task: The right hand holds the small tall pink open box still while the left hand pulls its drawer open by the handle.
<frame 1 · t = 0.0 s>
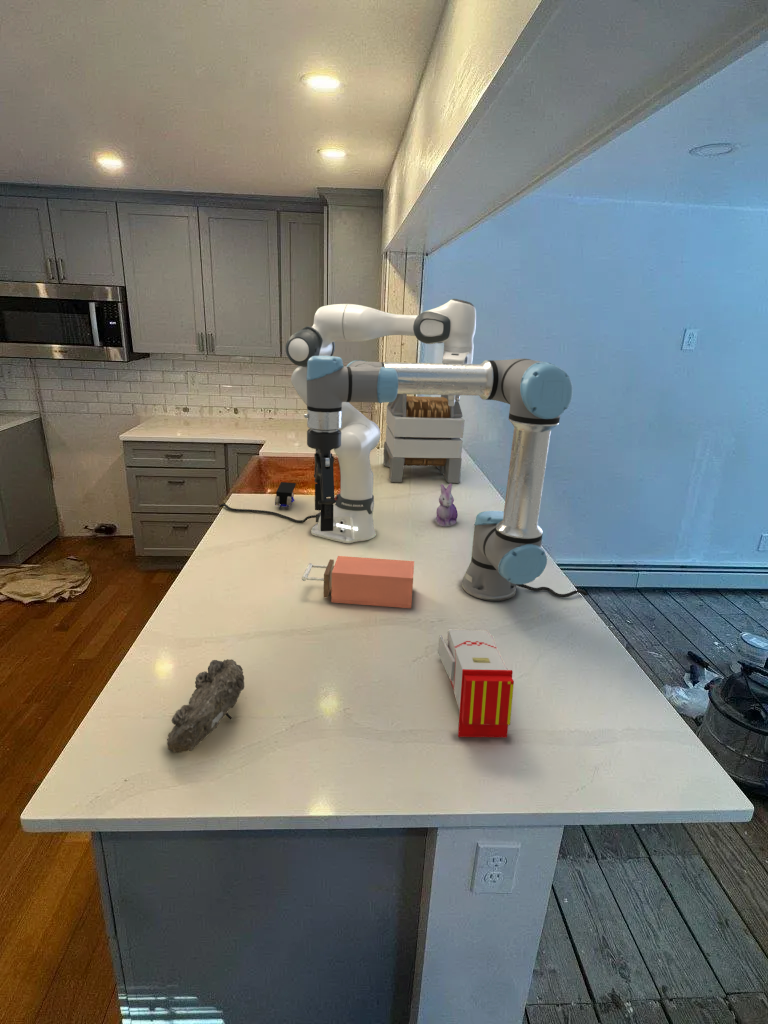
left hand: (454, 403, 174), 48 cm above the counter, tool pointing down, fingers open, 8 cm apart
right hand: (323, 519, 131), 28 cm above the counter, tool pointing down, fingers open, 13 cm apart
drawer: (352, 579, 155), point 4 cm above the counter, slide at 1.0 cm
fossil: (212, 717, 108), on the counter
tall pink open box: (373, 595, 156), on the counter
toy: (469, 691, 119), on the counter
transformer: (419, 473, 275), on the counter
figurine: (446, 523, 212), on the counter
figurine character: (285, 505, 223), on the counter
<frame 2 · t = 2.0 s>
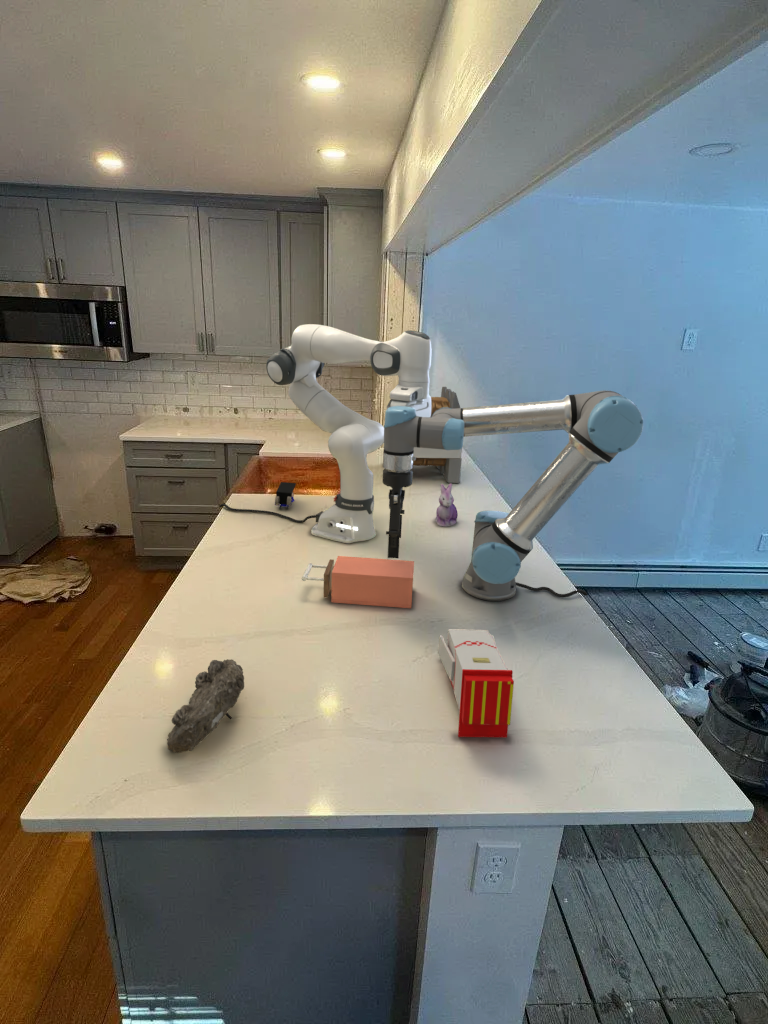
left hand: (410, 438, 166), 39 cm above the counter, tool pointing down, fingers open, 8 cm apart
right hand: (394, 547, 149), 16 cm above the counter, tool pointing down, fingers open, 13 cm apart
nothing on the counter moved.
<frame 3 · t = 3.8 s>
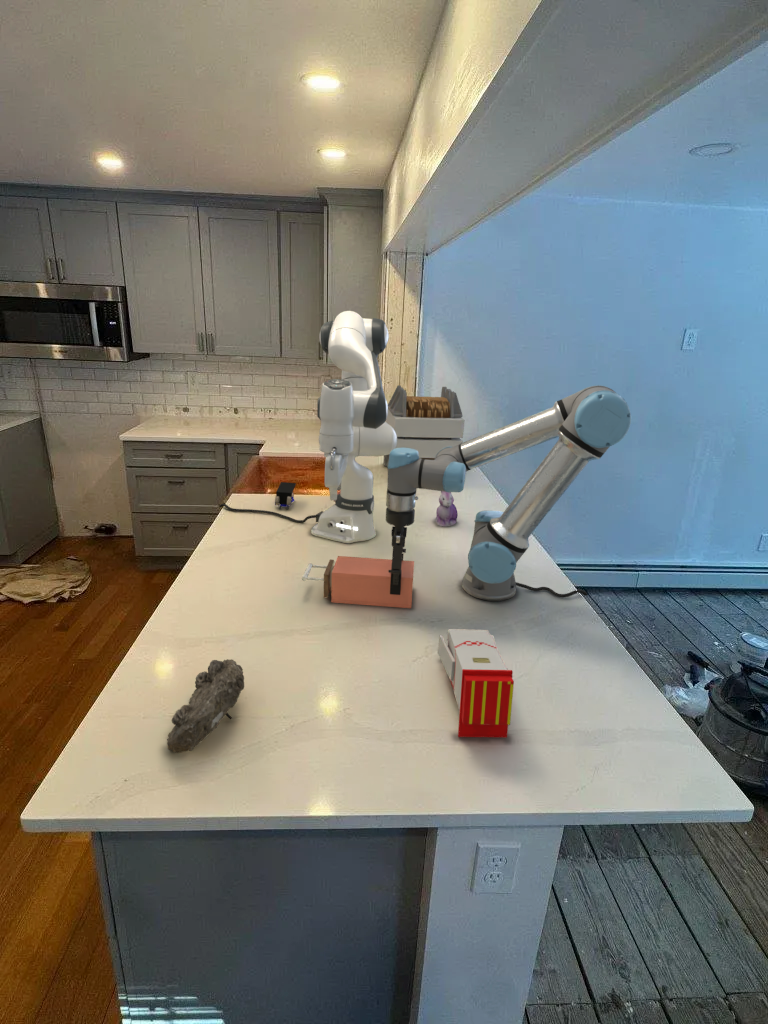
left hand: (335, 494, 152), 27 cm above the counter, tool pointing down, fingers open, 8 cm apart
right hand: (396, 584, 154), 4 cm above the counter, tool pointing down, fingers closed on tall pink open box, 11 cm apart
tall pink open box: (373, 595, 156), on the counter, touching right hand
everything else where it was.
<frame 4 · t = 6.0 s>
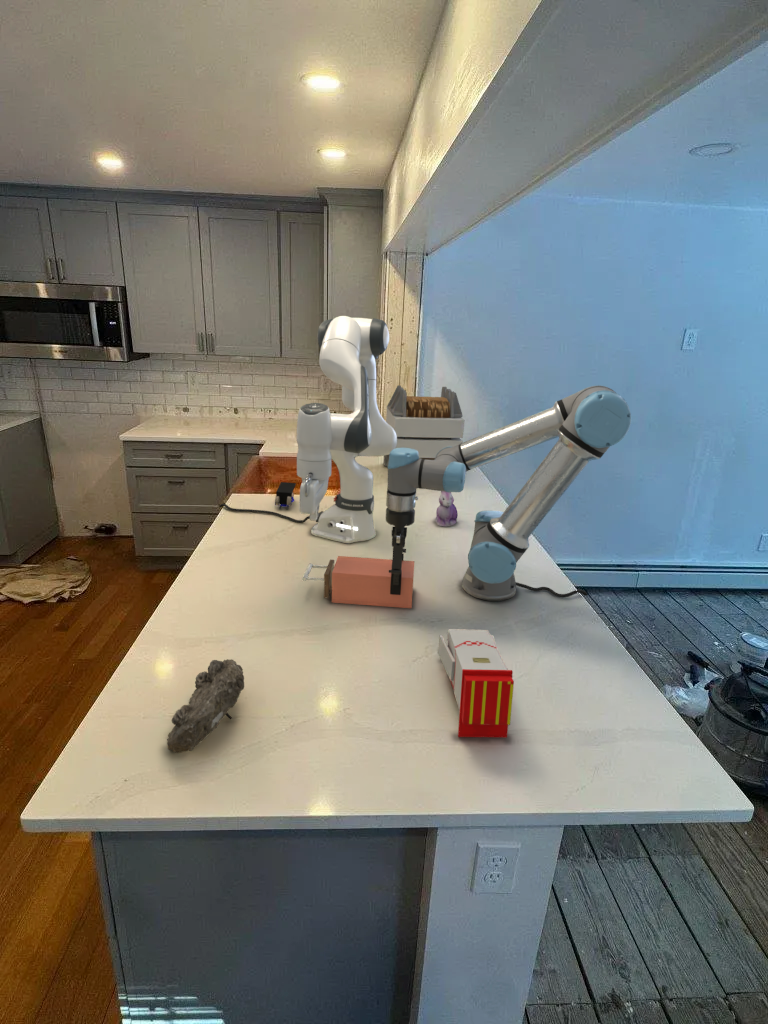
left hand: (314, 519, 150), 22 cm above the counter, tool pointing down, fingers closed
right hand: (396, 584, 154), 4 cm above the counter, tool pointing down, fingers closed on tall pink open box, 11 cm apart
tall pink open box: (373, 595, 156), on the counter, touching right hand
everything else where it was.
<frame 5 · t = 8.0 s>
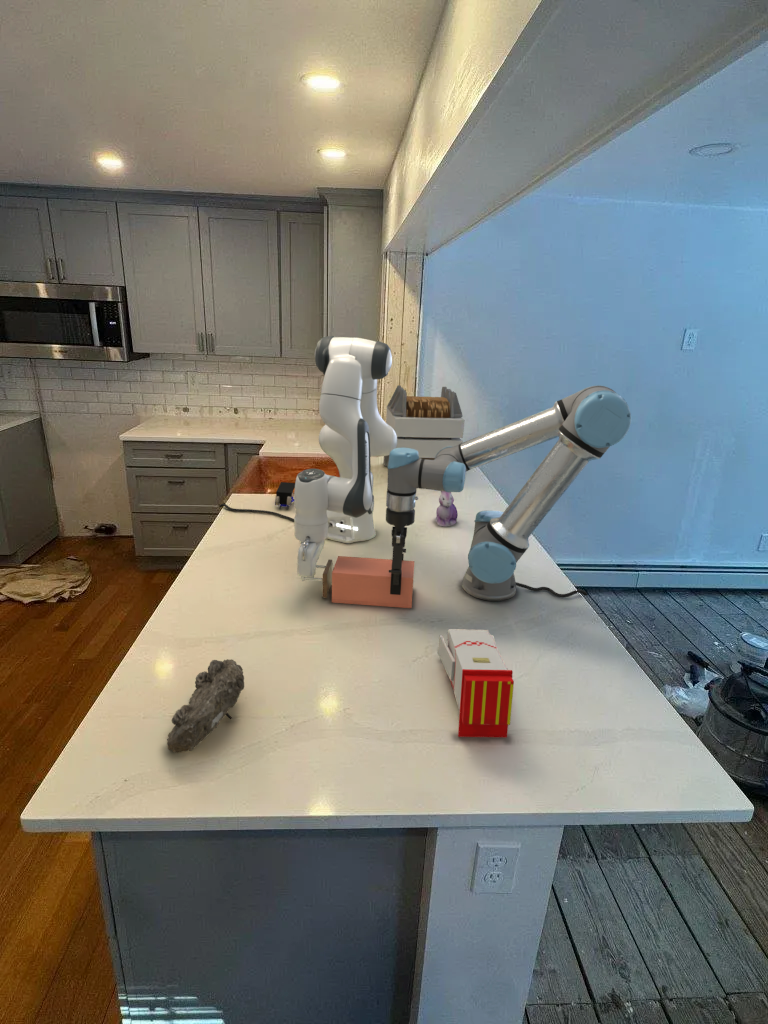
left hand: (311, 577, 156), 4 cm above the counter, tool pointing down, fingers closed, pressing on drawer
right hand: (396, 584, 154), 4 cm above the counter, tool pointing down, fingers closed on tall pink open box, 11 cm apart
drawer: (350, 579, 155), point 4 cm above the counter, slide at 1.4 cm, touching left hand
tall pink open box: (373, 595, 156), on the counter, touching right hand
everything else where it was.
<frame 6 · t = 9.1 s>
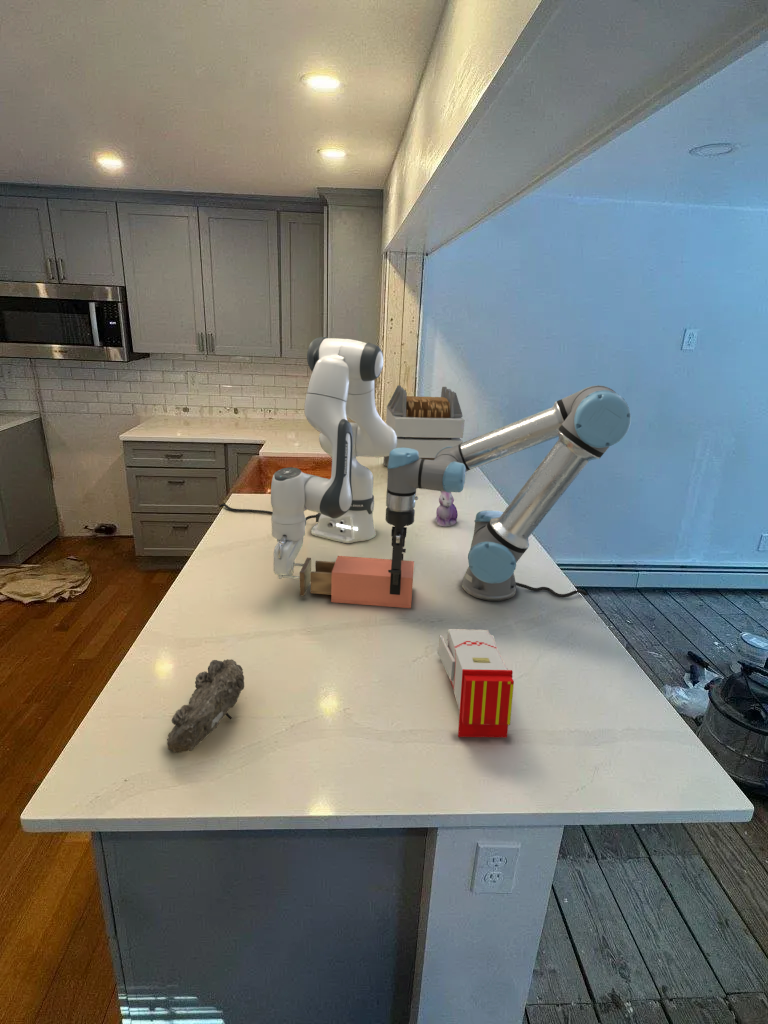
left hand: (289, 575, 156), 4 cm above the counter, tool pointing down, fingers closed, pressing on drawer
right hand: (396, 584, 154), 4 cm above the counter, tool pointing down, fingers closed on tall pink open box, 11 cm apart
drawer: (328, 577, 155), point 5 cm above the counter, slide at 7.4 cm, touching left hand
tall pink open box: (372, 595, 156), on the counter, touching right hand
everything else where it was.
when the right hand's fingers open (4 cm above the counter, at t = 10.8 s): tall pink open box stays where it is, on the counter.
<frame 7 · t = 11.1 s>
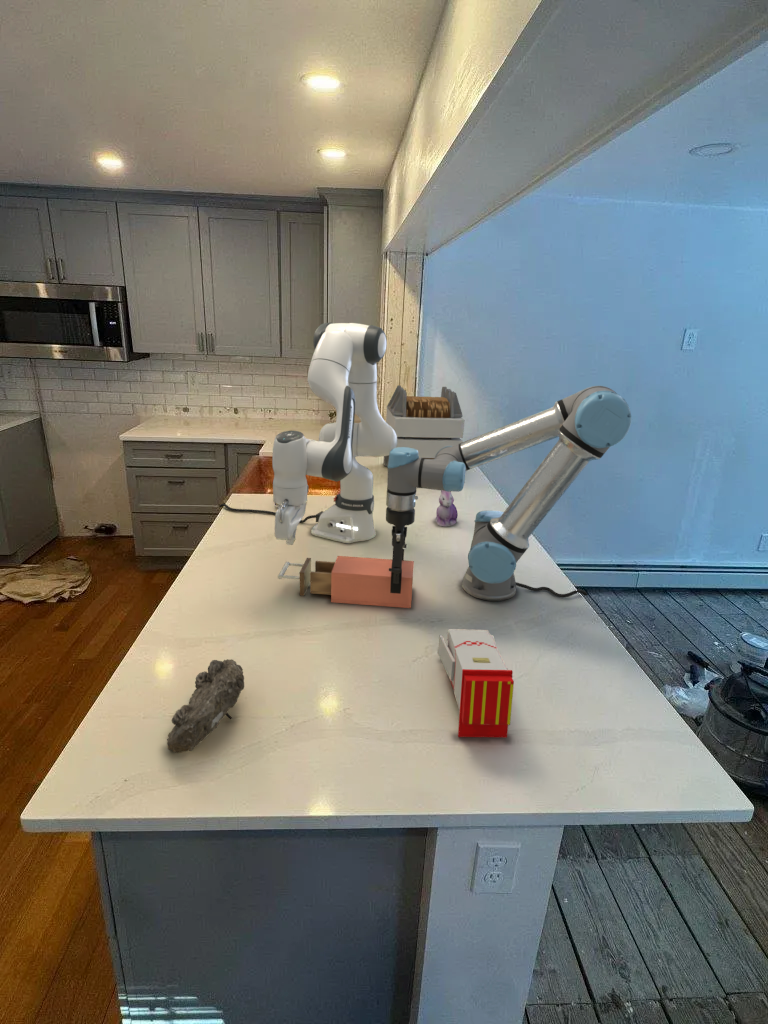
left hand: (290, 542, 153), 14 cm above the counter, tool pointing down, fingers closed
right hand: (396, 581, 154), 5 cm above the counter, tool pointing down, fingers open, 13 cm apart
drawer: (328, 578, 155), point 4 cm above the counter, slide at 7.4 cm
tall pink open box: (372, 595, 156), on the counter
everything else where it was.
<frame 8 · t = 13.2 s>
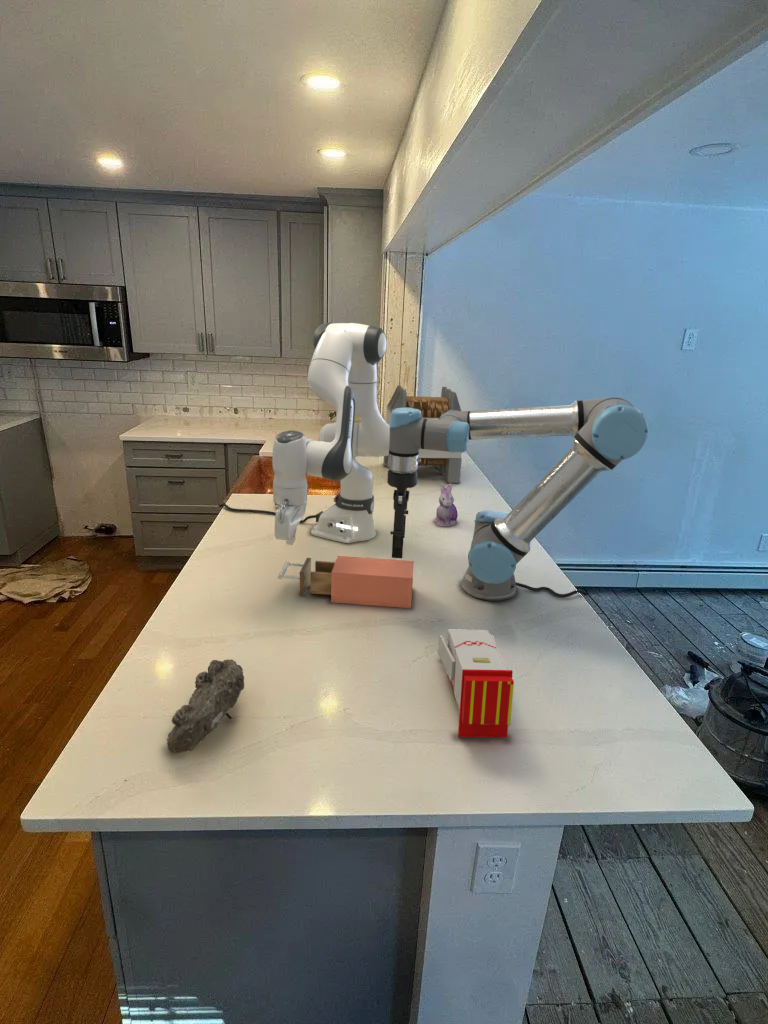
left hand: (290, 542, 153), 14 cm above the counter, tool pointing down, fingers closed
right hand: (398, 547, 151), 15 cm above the counter, tool pointing down, fingers open, 13 cm apart
nothing on the counter moved.
at the end: drawer slide at 7.4 cm; tall pink open box tilted 0°; tall pink open box never tilted more than 1° during the clip; tall pink open box moved 0.1 cm from its start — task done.
